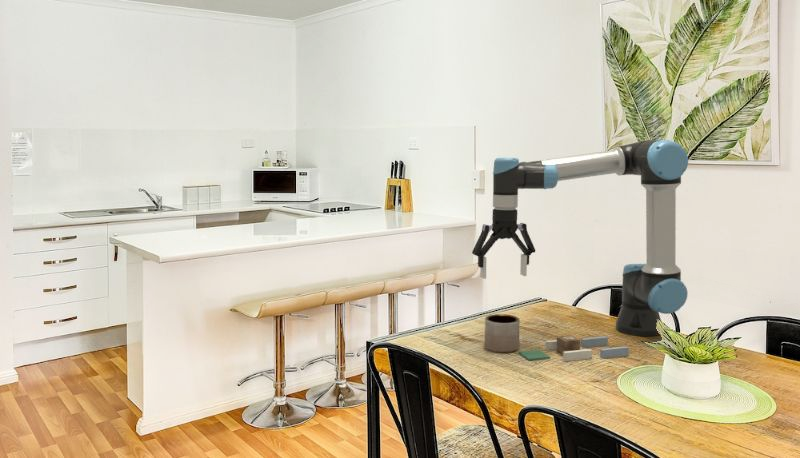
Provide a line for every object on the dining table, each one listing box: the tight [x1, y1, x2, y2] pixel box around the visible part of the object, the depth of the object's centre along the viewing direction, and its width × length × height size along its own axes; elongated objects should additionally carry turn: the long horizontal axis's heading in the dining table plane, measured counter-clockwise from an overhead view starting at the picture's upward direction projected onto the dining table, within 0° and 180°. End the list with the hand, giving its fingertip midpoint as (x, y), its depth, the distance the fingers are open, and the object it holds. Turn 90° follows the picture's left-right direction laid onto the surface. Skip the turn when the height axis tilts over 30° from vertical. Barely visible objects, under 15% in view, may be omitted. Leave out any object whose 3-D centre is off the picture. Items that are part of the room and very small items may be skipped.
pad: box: [517, 349, 551, 362], centre depth 199 cm, size 7×7×1 cm
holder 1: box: [544, 339, 593, 362], centre depth 200 cm, size 9×12×3 cm
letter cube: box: [556, 334, 581, 357], centre depth 200 cm, size 5×5×5 cm
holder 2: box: [580, 336, 630, 360], centre depth 203 cm, size 9×12×3 cm
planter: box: [483, 313, 521, 354], centre depth 206 cm, size 11×11×10 cm
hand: (503, 276), depth 203 cm, fingers open, 13 cm apart
